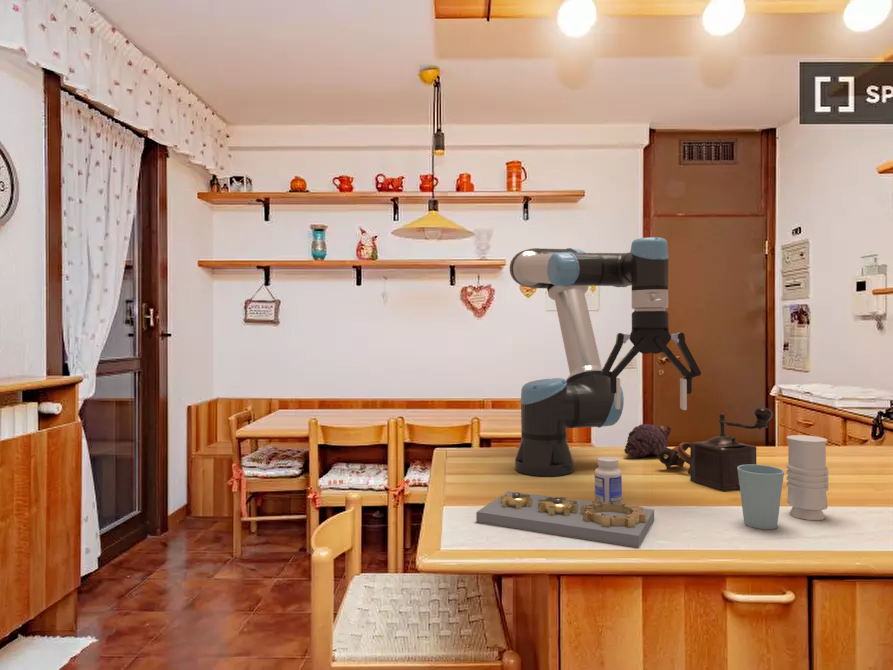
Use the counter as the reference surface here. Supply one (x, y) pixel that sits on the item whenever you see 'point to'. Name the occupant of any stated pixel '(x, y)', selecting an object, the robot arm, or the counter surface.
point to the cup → (760, 494)
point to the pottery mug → (675, 455)
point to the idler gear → (516, 500)
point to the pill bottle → (608, 480)
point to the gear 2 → (629, 520)
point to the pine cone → (647, 440)
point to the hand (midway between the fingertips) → (650, 409)
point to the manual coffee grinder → (724, 455)
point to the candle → (807, 476)
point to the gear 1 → (557, 506)
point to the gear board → (563, 522)
